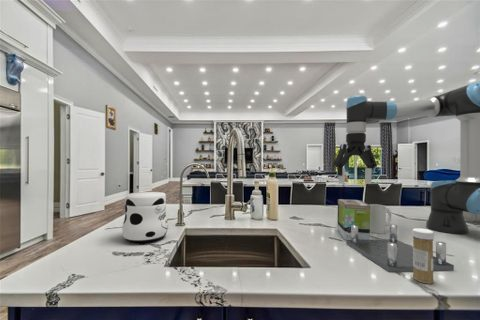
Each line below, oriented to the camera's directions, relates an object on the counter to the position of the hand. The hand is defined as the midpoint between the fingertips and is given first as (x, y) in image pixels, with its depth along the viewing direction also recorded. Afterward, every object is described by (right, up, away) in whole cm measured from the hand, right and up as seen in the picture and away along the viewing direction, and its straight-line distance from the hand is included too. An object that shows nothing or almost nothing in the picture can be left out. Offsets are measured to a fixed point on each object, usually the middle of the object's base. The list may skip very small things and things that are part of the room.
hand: (355, 183), depth 102 cm
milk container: (-87, -22, -3) cm, 90 cm away
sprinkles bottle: (+1, -23, -37) cm, 43 cm away
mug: (+15, -23, +8) cm, 29 cm away
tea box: (0, -23, +2) cm, 23 cm away
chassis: (+3, -22, -20) cm, 30 cm away
